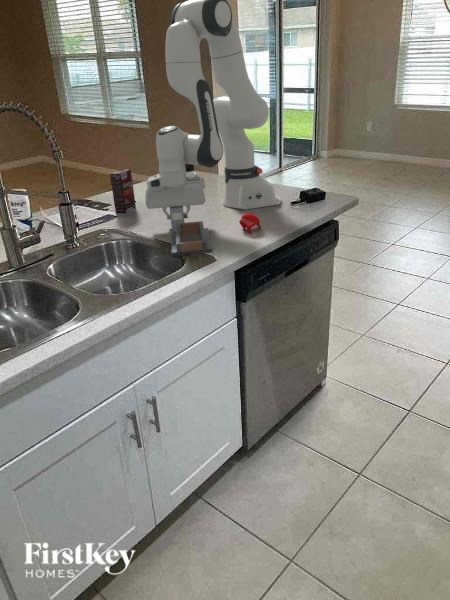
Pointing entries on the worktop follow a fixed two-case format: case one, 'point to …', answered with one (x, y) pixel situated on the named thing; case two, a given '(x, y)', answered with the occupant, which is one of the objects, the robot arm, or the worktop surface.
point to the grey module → (176, 216)
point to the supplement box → (123, 192)
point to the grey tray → (190, 239)
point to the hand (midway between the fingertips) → (177, 218)
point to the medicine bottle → (190, 170)
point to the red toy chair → (249, 221)
